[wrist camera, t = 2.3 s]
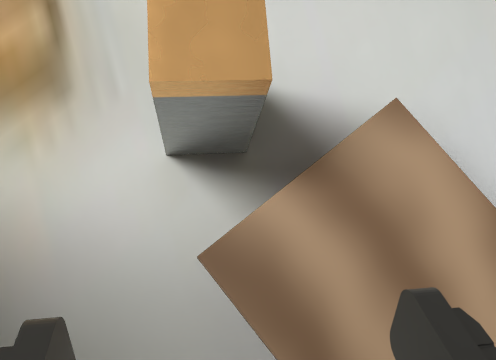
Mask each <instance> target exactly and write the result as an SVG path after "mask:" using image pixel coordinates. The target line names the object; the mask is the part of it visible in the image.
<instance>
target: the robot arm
mask: <svg viewBox="0 0 496 360" xmlns="http://www.w3.org/2000/svg"><path fill="white" fill-rule="evenodd" d="M390 344H391V349H392V352H393V355H394V357H395V359H396V360H496V347H495V346H494V342H493V341H492V339H491V338H490V337H489V335H488V334H487V333H486V331H485V330H484V329H483V327H482V326H481V324H480V323H479V322H477V321H476V320H475V319H474V318H472V317H471V316H470V315H468V314H467V313H466V312H465V311H463V310H462V309H461V308H460V307H458V308H451V306H450V305H449V303H448V302H447V300H446V299H445V298H444V296H443V295H442V293H441V292H440V291H439V290H438V289H437V288H434V287H429V288H417V289H405V290H403V291H402V292H401V294H400V297H399V301H398V304H397V308H396V311H395V315H394V318H393V322H392V325H391V329H390ZM0 360H76V359H75V356H74V352H73V348H72V345H71V341H70V338H69V334H68V331H67V327H66V324H65V321H64V319H63V318H62V317H55V318H43V319H31V320H26V321H25V322H24V323H23V324H22V326H21V328H20V331H19V333H18V336H17V338H16V341H15V344H14V346H12V347H1V348H0Z"/></svg>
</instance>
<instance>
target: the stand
mask: <svg viewBox="0 0 496 360" xmlns="http://www.w3.org/2000/svg"><path fill="white" fill-rule="evenodd" d="M197 258H198V260H199V261H200V262H201V263H202V265H203V266H204V267H205V269H206V270H207V271H208V272H209V274H210V275H211V276H212V278H213V279H214V280H215V281H216V283H217V284H218V285H219V287H220V288H221V289H222V290H223V292H224V293H225V294H226V295H227V297H228V298H229V299H230V301H231V302H232V303H233V304H234V306H235V307H236V308H237V310H238V311H239V312H240V313H241V315H242V316H243V317H244V319H245V320H246V321H247V322H248V324H249V325H250V326H251V327H252V329H253V330H254V331H255V333H256V334H257V335H258V336H259V338H260V339H261V340H262V342H263V343H264V344H265V345H266V347H267V348H268V349H269V351H270V352H271V353H272V354H273V356H274V357H275V358H276V360H396V359H395V357H394V355H393V352H392V349H391V344H390V329H391V325H392V322H393V318H394V315H395V311H396V308H397V304H398V301H399V297H400V294H401V292H402V291H403V290H405V289H417V288H429V287H434V288H437V289H438V290H439V291H440V292H441V293H442V295H443V296H444V298H445V299H446V300H447V302H448V303H449V305H450V306H451V308H458V307H460V308H461V309H462V310H463V311H465V312H466V313H467V314H468V315H470V316H471V317H472V318H474V319H475V320H476V321H477V322H479V323H480V324H481V326H482V327H483V329H484V330H485V331H486V333H487V334H488V335H489V337H490V338H491V339H492V341H493V342H494V346H495V347H496V208H495V207H494V206H493V205H492V203H491V202H490V201H489V200H488V199H487V198H486V197H485V196H484V195H483V193H482V192H481V191H480V190H479V189H478V188H477V187H476V186H475V185H474V183H473V182H472V181H471V180H470V179H469V178H468V177H467V176H466V175H465V173H464V172H463V171H462V170H461V169H460V168H459V167H458V166H457V164H456V163H455V162H454V161H453V160H452V159H451V158H450V157H449V156H448V154H447V153H446V152H445V151H444V150H443V149H442V148H441V147H440V146H439V144H438V143H437V142H436V141H435V140H434V139H433V138H432V137H431V136H430V134H429V133H428V132H427V131H426V130H425V129H424V128H423V127H422V126H421V124H420V123H419V122H418V121H417V120H416V119H415V118H414V117H413V116H412V114H411V113H410V112H409V111H408V110H407V109H406V108H405V107H404V106H403V104H402V103H401V102H400V101H399V100H398V99H397V98H395V99H394V100H393V101H392V102H390V103H389V104H388V105H386V106H385V107H384V108H383V109H381V110H380V111H379V112H378V113H376V114H375V115H374V116H373V117H371V118H370V119H369V120H368V121H366V122H365V123H364V124H363V125H361V126H360V127H359V128H358V129H356V130H355V131H354V132H353V133H351V134H350V135H349V136H348V137H346V138H345V139H344V140H343V141H341V142H340V143H339V144H338V145H336V146H335V147H334V148H333V149H331V150H330V151H329V152H328V153H326V154H325V155H324V156H323V157H321V158H320V159H319V160H318V161H316V162H315V163H314V164H313V165H311V166H310V167H309V168H308V169H306V170H305V171H304V172H303V173H301V174H300V175H299V176H298V177H296V178H295V179H294V180H293V181H291V182H290V183H289V184H288V185H286V186H285V187H284V188H283V189H281V190H280V191H279V192H278V193H276V194H275V195H274V196H273V197H271V198H270V199H269V200H268V201H266V202H265V203H264V204H263V205H261V206H260V207H259V208H258V209H256V210H255V211H254V212H253V213H251V214H250V215H249V216H248V217H246V218H245V219H244V220H242V221H241V222H240V223H239V224H237V225H236V226H235V227H234V228H232V229H231V230H230V231H229V232H227V233H226V234H225V235H224V236H222V237H221V238H220V239H219V240H217V241H216V242H215V243H214V244H212V245H211V246H210V247H209V248H207V249H206V250H205V251H204V252H202V253H201V254H200V255H199V256H197Z"/></svg>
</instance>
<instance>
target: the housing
mask: <svg viewBox="0 0 496 360" xmlns="http://www.w3.org/2000/svg"><path fill="white" fill-rule="evenodd" d="M147 10H148V52H149V83H150V87H151V91H152V96H153V100H154V104H155V109H156V113H157V117H158V121H159V126H160V130H161V134H162V139H163V143H164V147H165V152H166V155H186V154H212V153H239V152H246V151H247V148H248V145H249V143H250V140H251V137H252V134H253V131H254V129H255V126H256V123H257V120H258V118H259V115H260V112H261V109H262V107H263V104H264V101H265V98H266V96H267V93H268V90H269V87H270V84H271V82H272V71H271V60H270V50H269V40H268V29H267V19H266V8H265V0H147Z"/></svg>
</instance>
